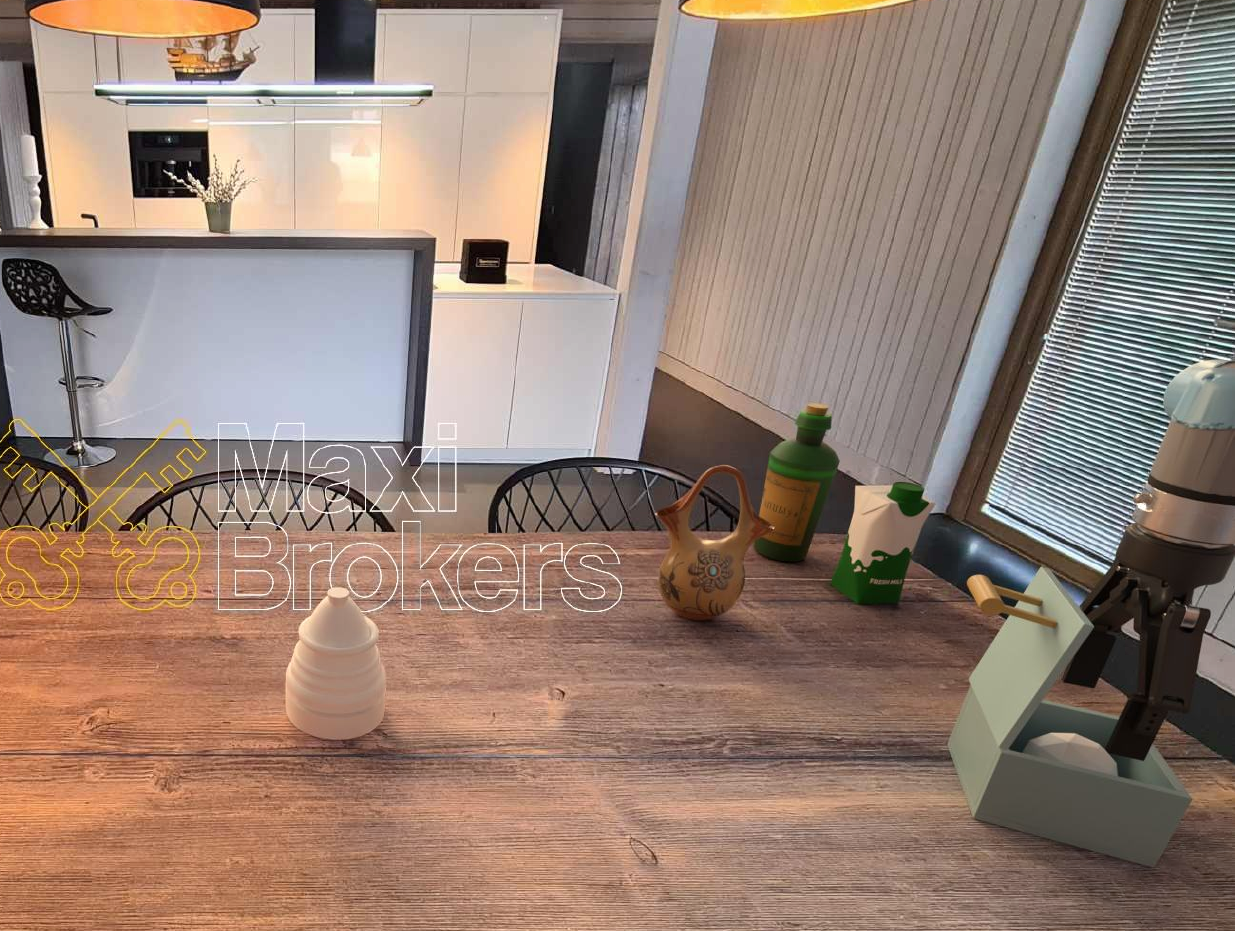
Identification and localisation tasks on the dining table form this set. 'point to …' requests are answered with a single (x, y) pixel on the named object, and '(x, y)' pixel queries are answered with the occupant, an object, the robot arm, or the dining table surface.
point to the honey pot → (336, 672)
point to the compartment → (1068, 785)
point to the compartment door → (1024, 649)
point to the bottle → (797, 487)
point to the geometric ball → (1072, 751)
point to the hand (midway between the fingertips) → (1099, 717)
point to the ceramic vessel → (706, 555)
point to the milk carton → (881, 542)
